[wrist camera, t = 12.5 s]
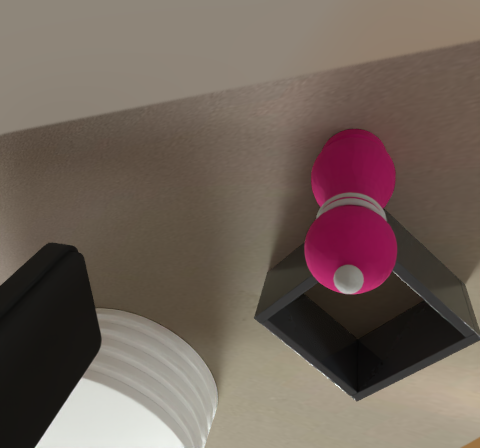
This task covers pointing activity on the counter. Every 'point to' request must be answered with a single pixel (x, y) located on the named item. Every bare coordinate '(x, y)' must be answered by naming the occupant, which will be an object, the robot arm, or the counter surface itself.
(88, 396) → the plate stack
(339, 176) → the pepper mill
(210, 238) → the counter surface
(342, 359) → the open box
